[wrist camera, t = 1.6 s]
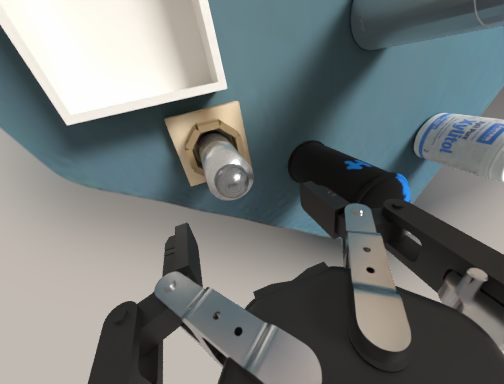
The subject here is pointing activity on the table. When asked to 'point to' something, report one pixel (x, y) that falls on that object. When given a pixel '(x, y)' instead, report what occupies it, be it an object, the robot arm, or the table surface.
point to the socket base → (195, 124)
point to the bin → (115, 52)
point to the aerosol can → (346, 175)
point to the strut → (224, 166)
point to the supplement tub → (464, 144)
